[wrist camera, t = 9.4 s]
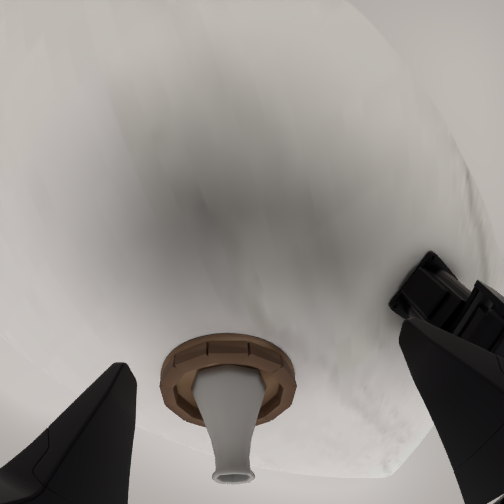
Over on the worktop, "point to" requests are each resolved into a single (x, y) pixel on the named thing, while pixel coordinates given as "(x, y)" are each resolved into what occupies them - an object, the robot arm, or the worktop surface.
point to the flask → (230, 416)
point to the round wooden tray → (220, 353)
